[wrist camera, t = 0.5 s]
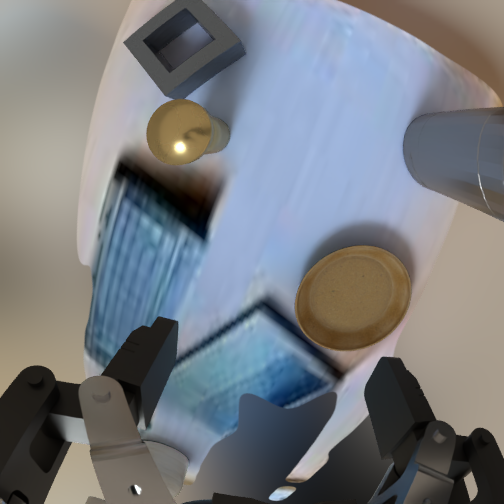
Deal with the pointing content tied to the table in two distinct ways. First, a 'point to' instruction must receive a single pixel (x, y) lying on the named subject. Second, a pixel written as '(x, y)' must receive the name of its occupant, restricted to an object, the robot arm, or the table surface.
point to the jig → (197, 66)
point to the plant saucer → (353, 298)
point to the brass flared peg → (185, 132)
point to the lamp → (163, 468)
